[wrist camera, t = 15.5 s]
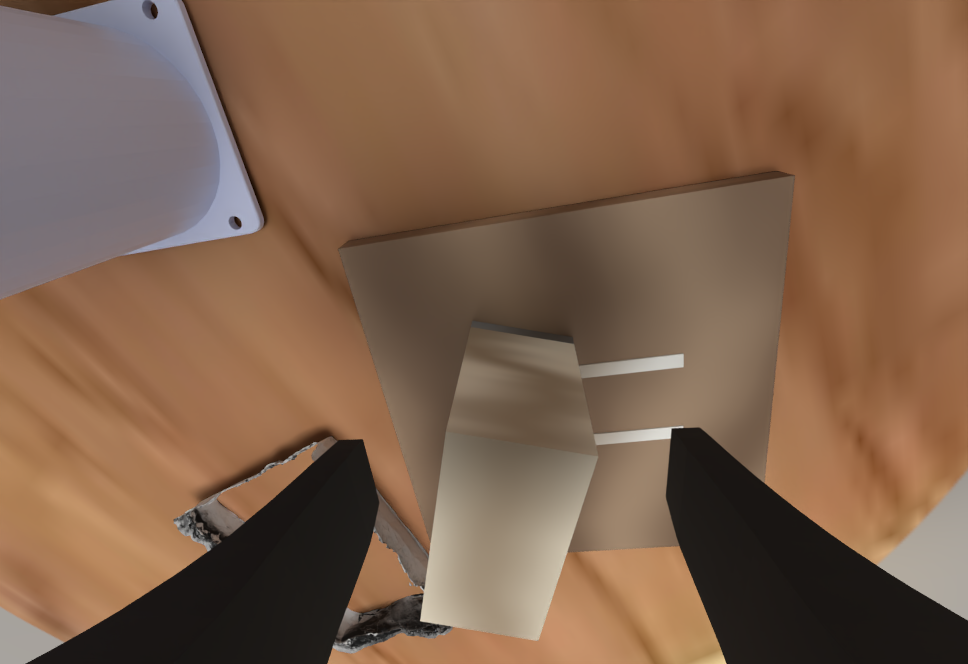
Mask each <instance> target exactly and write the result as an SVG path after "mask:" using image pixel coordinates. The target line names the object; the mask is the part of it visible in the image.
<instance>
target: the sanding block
mask: <svg viewBox="0 0 968 664" xmlns="http://www.w3.org/2000/svg"><path fill="white" fill-rule="evenodd" d="M597 459H598V452H597V448H596V443H595V439H594V434H593V429H592V425H591V420H590V415H589V411H588V406H587V402H586V397H585V392H584V388H583V383H582V379H581V374H580V369H579V365H578V360H577V355H576V351H575V346H574V342H573V337H569V336H563V335H557V334H551V333H545V332H538V331H532V330H526V329H520V328H514V327H508V326H502V325H496V324H490V323H484V322H478V321H472V324H471V328H470V333H469V337H468V341H467V345H466V349H465V354H464V358H463V362H462V366H461V370H460V374H459V379H458V383H457V387H456V391H455V395H454V400H453V404H452V408H451V412H450V416H449V420H448V425H447V429H446V434H445V442H444V449H443V456H442V464H441V471H440V479H439V486H438V493H437V501H436V508H435V515H434V523H433V530H432V537H431V545H430V552H429V560H428V567H427V574H426V582H425V589H424V596H423V604H422V611H421V619H420V621H422V622H428V623H434V624H440V625H446V626H452V627H458V628H464V629H470V630H476V631H482V632H488V633H494V634H500V635H506V636H512V637H518V638H524V639H530V640H536V641H538V640H539V637H540V634H541V631H542V628H543V625H544V622H545V619H546V615H547V612H548V609H549V606H550V603H551V600H552V597H553V594H554V591H555V588H556V585H557V582H558V579H559V576H560V573H561V570H562V567H563V563H564V560H565V557H566V554H567V551H568V548H569V545H570V542H571V539H572V536H573V533H574V530H575V527H576V524H577V521H578V518H579V514H580V511H581V508H582V505H583V502H584V499H585V496H586V493H587V490H588V487H589V484H590V481H591V478H592V475H593V472H594V469H595V465H596V462H597Z"/></svg>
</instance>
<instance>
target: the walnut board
mask: <svg viewBox="0 0 968 664" xmlns="http://www.w3.org/2000/svg"><path fill="white" fill-rule="evenodd" d="M794 180H795V175H791V174H787V173H783V172H779V171H774V172H768V173H762V174H756V175H749V176H743V177H737V178H731V179H725V180H719V181H713V182H707V183H700V184H694V185H688V186H682V187H676V188H670V189H664V190H657V191H651V192H645V193H639V194H633V195H627V196H621V197H615V198H608V199H602V200H596V201H590V202H584V203H578V204H572V205H566V206H559V207H553V208H547V209H541V210H535V211H529V212H523V213H516V214H510V215H504V216H498V217H492V218H486V219H480V220H474V221H467V222H461V223H455V224H449V225H443V226H437V227H431V228H424V229H418V230H412V231H406V232H400V233H394V234H388V235H382V236H375V237H369V238H363V239H357V240H351V241H348V242H347V243H345V244H344V245H343V246H341V247H340V248H339V249H338V250H339V253H340V257H341V260H342V263H343V266H344V269H345V273H346V276H347V279H348V282H349V285H350V288H351V292H352V295H353V298H354V301H355V304H356V308H357V311H358V314H359V317H360V320H361V323H362V327H363V330H364V333H365V336H366V339H367V342H368V346H369V349H370V352H371V355H372V358H373V362H374V365H375V368H376V371H377V374H378V377H379V381H380V384H381V387H382V390H383V393H384V397H385V400H386V403H387V406H388V409H389V412H390V416H391V419H392V422H393V425H394V428H395V431H396V435H397V438H398V441H399V444H400V447H401V451H402V454H403V457H404V460H405V463H406V466H407V470H408V473H409V476H410V479H411V482H412V485H413V489H414V492H415V495H416V498H417V501H418V505H419V508H420V511H421V514H422V517H423V520H424V524H425V527H426V530H427V533H428V536H429V540H430V543H431V537H432V530H433V523H434V515H435V508H436V501H437V493H438V486H439V479H440V471H441V464H442V456H443V449H444V442H445V434H446V429H447V425H448V420H449V416H450V412H451V408H452V404H453V400H454V395H455V391H456V387H457V383H458V379H459V374H460V370H461V366H462V362H463V358H464V354H465V349H466V345H467V341H468V337H469V333H470V328H471V324H472V321H478V322H484V323H490V324H496V325H502V326H508V327H514V328H520V329H526V330H532V331H538V332H545V333H551V334H557V335H563V336H569V337H573V342H574V346H575V351H576V355H577V360H578V365H579V369H580V374H581V379H582V383H583V388H584V392H585V397H586V402H587V406H588V411H589V415H590V420H591V425H592V429H593V434H594V439H595V443H596V448H597V452H598V459H597V462H596V465H595V469H594V472H593V475H592V478H591V481H590V484H589V487H588V490H587V493H586V496H585V499H584V502H583V505H582V508H581V511H580V514H579V518H578V521H577V524H576V527H575V530H574V533H573V536H572V539H571V542H570V545H569V548H568V551H567V552H584V551H601V550H618V549H636V548H653V547H671V546H679V543H678V540H677V537H676V533H675V530H674V526H673V523H672V519H671V516H670V512H669V508H668V504H667V500H666V486H667V475H668V463H669V452H670V440H671V429H672V428H694V427H700V428H701V429H702V430H704V431H705V432H706V433H707V434H708V435H709V436H711V437H712V438H713V439H714V440H715V441H716V442H717V443H718V444H720V445H721V446H722V447H723V448H724V449H725V450H726V451H727V452H729V453H730V454H731V455H732V456H733V457H734V458H735V459H737V460H738V461H739V462H740V463H741V464H742V465H743V466H745V467H746V468H747V469H748V470H749V471H750V472H752V473H753V474H754V475H755V476H756V477H757V478H759V479H760V480H761V481H762V482H764V481H765V471H766V461H767V451H768V441H769V431H770V421H771V411H772V401H773V391H774V381H775V371H776V361H777V351H778V341H779V331H780V321H781V311H782V300H783V290H784V280H785V270H786V260H787V250H788V240H789V230H790V220H791V210H792V200H793V190H794Z"/></svg>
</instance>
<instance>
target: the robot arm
mask: <svg viewBox="0 0 968 664" xmlns="http://www.w3.org/2000/svg"><path fill="white" fill-rule="evenodd" d="M153 3H154V4H155V5H156V7H157V9H158V16H157V18H155V19H154V17H153V16H152V14H151V6H152V4H153ZM235 216H236V217H238V218H239V219H240V220H241V222H242V227H239V226H238V225H236V223H235V221H234V217H235ZM263 225H264V218H263V215H262V212H261V209H260V207H259V204H258V201H257V199H256V196H255V193H254V191H253V188H252V185H251V183H250V180H249V177H248V175H247V172H246V169H245V166H244V164H243V161H242V158H241V156H240V153H239V150H238V148H237V145H236V142H235V140H234V137H233V134H232V132H231V129H230V126H229V124H228V121H227V118H226V115H225V113H224V110H223V107H222V105H221V102H220V99H219V97H218V94H217V91H216V89H215V86H214V83H213V81H212V78H211V75H210V73H209V70H208V67H207V64H206V62H205V59H204V56H203V54H202V51H201V48H200V46H199V43H198V40H197V38H196V35H195V32H194V30H193V27H192V24H191V22H190V19H189V16H188V13H187V11H186V8H185V5H184V3H183V2H182V0H111V1H107V2H103V3H99V4H95V5H92V6H88V7H84V8H80V9H76V10H72V11H69V12H65V13H61V14H57V15H53V16H50V15H45V14H40V13H35V12H30V11H25V10H20V9H15V8H10V7H5V6H0V299H3V298H6V297H8V296H11V295H14V294H17V293H19V292H22V291H25V290H28V289H30V288H33V287H36V286H39V285H41V284H44V283H47V282H49V281H52V280H55V279H58V278H60V277H63V276H66V275H69V274H71V273H74V272H77V271H80V270H82V269H85V268H88V267H91V266H93V265H96V264H99V263H102V262H104V261H107V260H110V259H112V258H115V257H118V256H122V255H128V254H134V253H140V252H146V251H152V250H158V249H163V248H169V247H175V246H181V245H187V244H193V243H198V242H204V241H210V240H216V239H222V238H228V237H234V236H239V235H245V234H251V233H254V232H257V231H259V230H261V229H262V227H263ZM666 500H667V504H668V508H669V512H670V516H671V519H672V523H673V526H674V530H675V533H676V537H677V540H678V543H679V546H680V548H681V551H682V553H683V556H684V558H685V561H686V563H687V566H688V568H689V571H690V573H691V576H692V578H693V581H694V583H695V585H696V588H697V590H698V593H699V595H700V598H701V600H702V603H703V605H704V607H705V610H706V612H707V615H708V617H709V620H710V622H711V625H712V627H713V630H714V632H715V634H716V637H717V639H718V642H719V644H720V647H721V650H722V652H723V655H724V658H725V661H726V663H727V664H968V620H966V619H964V618H962V617H961V616H959V615H957V614H955V613H954V612H952V611H950V610H948V609H947V608H945V607H944V606H942V605H940V604H938V603H937V602H935V601H933V600H932V599H930V598H928V597H927V596H925V595H923V594H921V593H920V592H918V591H916V590H915V589H913V588H911V587H910V586H908V585H906V584H905V583H903V582H902V581H900V580H898V579H897V578H895V577H894V576H892V575H890V574H889V573H887V572H886V571H884V570H883V569H881V568H880V567H878V566H877V565H875V564H874V563H872V562H871V561H869V560H868V559H866V558H865V557H863V556H862V555H860V554H859V553H857V552H856V551H854V550H853V549H851V548H850V547H848V546H847V545H845V544H844V543H842V542H841V541H839V540H838V539H837V538H835V537H834V536H832V535H831V534H829V533H828V532H827V531H825V530H824V529H823V528H821V527H820V526H819V525H817V524H816V523H815V522H813V521H812V520H811V519H809V518H808V517H807V516H805V515H804V514H803V513H801V512H800V511H799V510H797V509H796V508H795V507H793V506H792V505H791V504H790V503H788V502H787V501H786V500H784V499H783V498H782V497H781V496H779V495H778V494H777V493H776V492H774V491H773V490H772V489H771V488H770V487H768V486H767V485H766V484H765V483H764V482H762V481H761V480H760V479H759V478H757V477H756V476H755V475H754V474H753V473H752V472H750V471H749V470H748V469H747V468H746V467H745V466H743V465H742V464H741V463H740V462H739V461H738V460H737V459H735V458H734V457H733V456H732V455H731V454H730V453H729V452H727V451H726V450H725V449H724V448H723V447H722V446H721V445H720V444H718V443H717V442H716V441H715V440H714V439H713V438H712V437H711V436H709V435H708V434H707V433H706V432H705V431H704V430H702V429H701V428H700V427H694V428H672V429H671V440H670V452H669V463H668V475H667V486H666ZM379 503H380V502H379V499H378V495H377V491H376V487H375V483H374V480H373V476H372V472H371V468H370V465H369V461H368V457H367V453H366V449H365V446H364V442H363V439H360V440H339V441H337V442H336V443H335V444H334V445H333V446H331V447H330V448H329V449H328V450H327V451H326V452H325V453H323V454H322V455H321V456H320V457H319V458H318V459H317V460H316V461H315V462H314V463H312V464H311V465H310V466H309V467H308V468H307V469H306V470H305V471H304V472H303V473H302V474H300V475H299V476H298V477H297V478H296V479H295V480H294V481H293V482H292V483H290V484H289V485H288V486H287V487H286V488H285V489H284V490H283V491H281V492H280V493H279V494H278V495H277V496H276V497H275V498H274V499H273V500H271V501H270V502H269V503H268V504H267V505H265V506H264V507H263V508H262V509H261V510H259V511H258V512H257V513H256V514H255V515H253V516H252V517H251V518H250V519H249V520H247V521H246V522H245V523H244V524H243V525H241V526H240V527H239V528H238V529H236V530H235V531H234V532H233V533H232V534H230V535H229V536H228V537H227V538H225V539H224V540H223V541H221V542H220V543H219V544H217V545H216V546H215V547H213V548H212V549H211V550H209V551H208V552H207V553H205V554H204V555H203V556H201V557H200V558H198V559H197V560H196V561H194V562H193V563H191V564H190V565H189V566H187V567H186V568H184V569H183V570H182V571H180V572H179V573H177V574H176V575H174V576H173V577H171V578H170V579H168V580H167V581H165V582H164V583H162V584H161V585H159V586H157V587H156V588H154V589H153V590H151V591H150V592H148V593H147V594H145V595H143V596H142V597H140V598H139V599H137V600H136V601H134V602H133V603H131V604H129V605H128V606H126V607H125V608H123V609H122V610H120V611H118V612H117V613H115V614H113V615H112V616H110V617H108V618H107V619H105V620H103V621H102V622H100V623H98V624H96V625H95V626H93V627H91V628H90V629H88V630H86V631H84V632H83V633H81V634H79V635H77V636H76V637H74V638H72V639H70V640H68V641H67V642H65V643H63V644H61V645H59V646H58V647H56V648H54V649H52V650H51V651H49V652H47V653H45V654H43V655H41V656H39V657H37V658H36V659H34V660H32V661H30V662H28V663H26V664H327V663H328V660H329V657H330V654H331V651H332V648H333V644H334V641H335V639H336V636H337V633H338V630H339V628H340V625H341V622H342V620H343V617H344V614H345V611H346V609H347V606H348V603H349V601H350V598H351V595H352V593H353V590H354V587H355V584H356V582H357V579H358V576H359V574H360V571H361V568H362V565H363V562H364V560H365V557H366V554H367V551H368V548H369V545H370V542H371V538H372V534H373V530H374V526H375V521H376V517H377V512H378V508H379Z"/></svg>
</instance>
